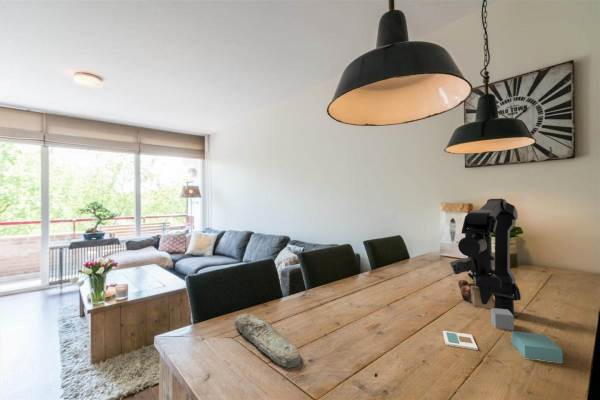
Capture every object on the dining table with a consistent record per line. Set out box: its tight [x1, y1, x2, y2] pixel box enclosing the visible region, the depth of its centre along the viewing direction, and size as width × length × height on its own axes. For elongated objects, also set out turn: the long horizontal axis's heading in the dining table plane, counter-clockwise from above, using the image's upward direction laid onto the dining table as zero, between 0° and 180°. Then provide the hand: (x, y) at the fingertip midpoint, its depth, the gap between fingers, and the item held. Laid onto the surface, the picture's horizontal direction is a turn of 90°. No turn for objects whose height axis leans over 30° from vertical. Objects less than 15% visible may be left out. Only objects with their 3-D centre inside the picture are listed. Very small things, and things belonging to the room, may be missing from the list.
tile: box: [442, 330, 479, 351], centre depth 81 cm, size 8×8×1 cm
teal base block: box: [511, 330, 564, 364], centre depth 74 cm, size 8×8×4 cm
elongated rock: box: [234, 313, 302, 369], centre depth 84 cm, size 35×5×10 cm
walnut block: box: [471, 286, 495, 310], centre depth 84 cm, size 5×5×5 cm
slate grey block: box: [490, 308, 515, 331], centre depth 89 cm, size 5×5×5 cm
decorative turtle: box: [457, 279, 475, 305], centre depth 110 cm, size 10×15×8 cm, turn 22°
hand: (482, 300), depth 84 cm, fingers closed on walnut block, 5 cm apart
